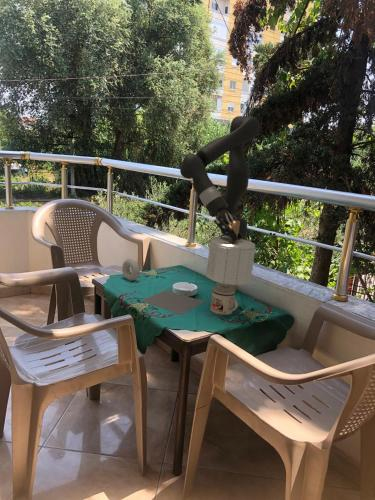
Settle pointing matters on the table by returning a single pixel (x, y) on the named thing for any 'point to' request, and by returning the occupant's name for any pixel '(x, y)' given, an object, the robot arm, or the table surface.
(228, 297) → the teacup with lid
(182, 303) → the mat
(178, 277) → the table surface
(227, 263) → the cylinder
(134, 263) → the donut
